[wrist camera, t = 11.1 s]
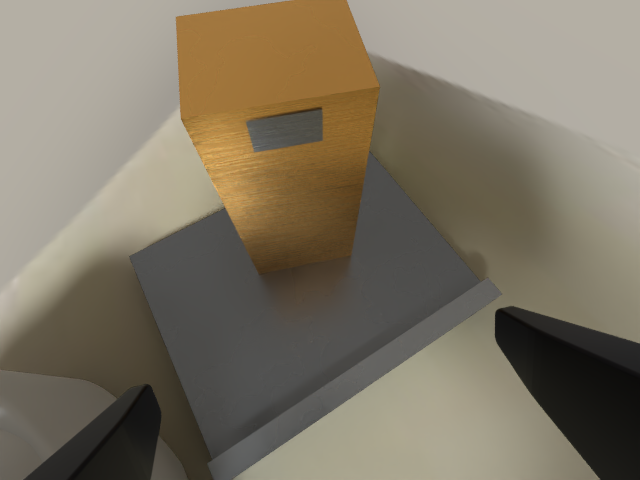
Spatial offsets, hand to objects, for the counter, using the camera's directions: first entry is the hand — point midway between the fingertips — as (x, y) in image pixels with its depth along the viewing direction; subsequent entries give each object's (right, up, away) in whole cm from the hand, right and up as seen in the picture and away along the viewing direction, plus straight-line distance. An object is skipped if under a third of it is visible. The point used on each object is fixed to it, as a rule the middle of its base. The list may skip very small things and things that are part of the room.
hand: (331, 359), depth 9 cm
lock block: (-1, +4, +11) cm, 11 cm away
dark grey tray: (-1, +1, +10) cm, 11 cm away
